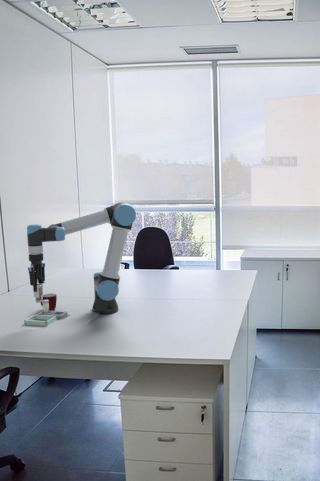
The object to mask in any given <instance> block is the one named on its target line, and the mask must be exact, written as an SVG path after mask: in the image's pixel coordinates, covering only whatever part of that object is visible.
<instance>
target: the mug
mask: <svg viewBox="0 0 320 481" xmlns="http://www.w3.org/2000/svg"><path fill="white" fill-rule="evenodd" d="M42 300H49V302H48V303H49V311H55V310H56V307H57V300H58V298H57V294H56V293H45V294H43V296H42ZM40 305H41V307H43V303H42V302H40Z"/></svg>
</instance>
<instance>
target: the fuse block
mask: <svg viewBox="0 0 320 481" xmlns="http://www.w3.org/2000/svg"><path fill="white" fill-rule="evenodd" d="M37 315H51V316H57V320H65V319H67V318H68V317H69V316H71V314H69V313H68V311H62V310H61V311H60V310H59V311H58V310H56V311H55V310H54V311H49V314H43V310H42V311H40V312H38V313H37Z"/></svg>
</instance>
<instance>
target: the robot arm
mask: <svg viewBox="0 0 320 481" xmlns="http://www.w3.org/2000/svg"><path fill="white" fill-rule="evenodd" d="M136 217H137V212H136V209H135V208H134V207H133V206H132V205H131V204H130V203H127V202H118V203H115V204H113V205H110V206H107V207H104V209H103V210H100V211H96V212H93V213H90V214H85V215H82V216H79V217H76V218H72V219H70V220H69V219H68V220H66V221H61V222H58V223H54V224H50V225H48V227H42V224H40V223H34V224H29V225H27V227H26V235H27V247H28V249H27V250H28V261H29V262H30V263H31V264H30V266H29V267H28V268H27V271H28V276H29V283H30V286H32V287H33V288H32V290H33V298H35V299H36V298H39V286H38V285H41V294H42V296H43V295H44V286H43V284H45V281H46V278H45V277H46V274H45V272H46V270H45V266H46V264H45V263H46V262H45V263H43V261H44V248H43V243H47V242H48V243H50V242H63V241H65V240H66V236H67V235H71V234H74V233H77V232H78V233H79V232H81V231H84V230H87V229H91V228H95V227H98V226H102V225H105V224H109V225H110V226H111V228H112V229H111V230H112V231H111V235H110V239H109V244H108V248H107V252H106V256H105V262H104V265H103V269H102V271H100V272H95V273H93V286H94V287H93V288H94V289H93V290H94V291H93V292H94V300H93V304H92V312H93V313H98V314H99V315H107V314H113V313H116V312H118V311H119V305H118V302H117V300H116V298H117V296H118V295H119V291H120V289H119V283H120V281H121V280H120V279H121V276H120V275H119V273H120V269H121V268H120V267H121V263H122V261H123V254H124V250H125V247H126V241H127V237H128V233H129V232H130V231H132V228H133V224H134V222H135V220H136Z"/></svg>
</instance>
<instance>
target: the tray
mask: <svg viewBox="0 0 320 481" xmlns="http://www.w3.org/2000/svg"><path fill="white" fill-rule="evenodd" d="M56 321H58V319H57V316H51V315H38V314H33V315H31V316H30V317H28V318H26V319H24V321H23V323H24V325H26V326H41V327H48V326H49V325H51V324H53V323H54V322H56Z"/></svg>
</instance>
